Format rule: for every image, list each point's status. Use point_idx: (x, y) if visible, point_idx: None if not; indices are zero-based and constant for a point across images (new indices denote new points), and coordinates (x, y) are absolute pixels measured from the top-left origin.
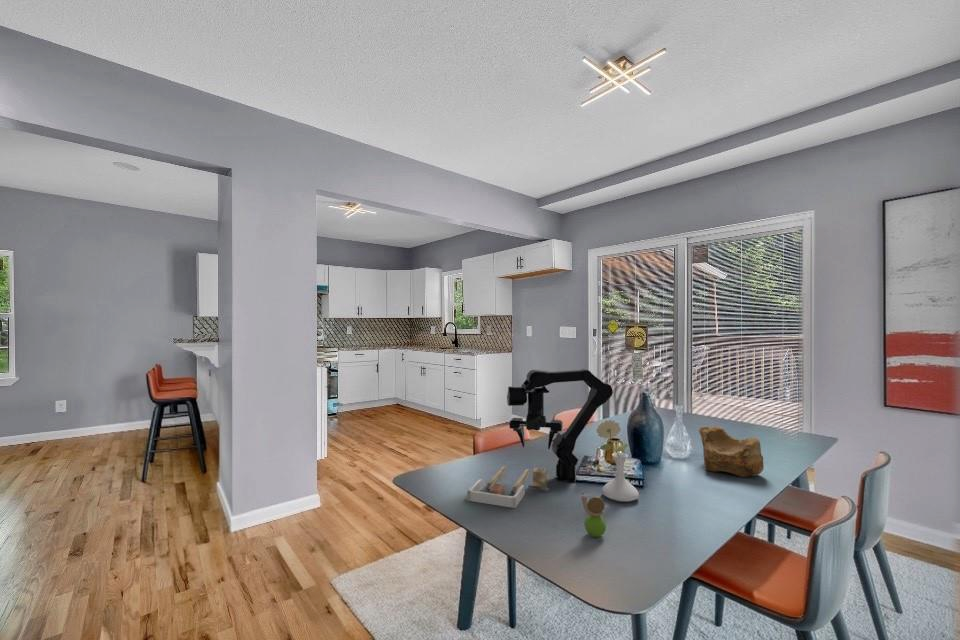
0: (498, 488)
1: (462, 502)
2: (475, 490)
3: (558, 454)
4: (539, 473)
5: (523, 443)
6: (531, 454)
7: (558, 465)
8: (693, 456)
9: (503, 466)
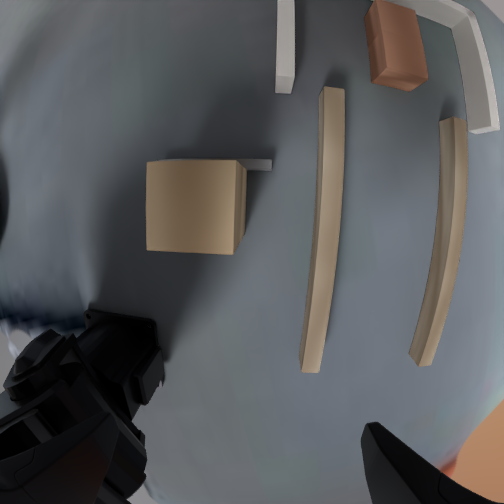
0: (393, 27)
1: None
2: (469, 54)
3: (68, 379)
4: (184, 161)
5: (384, 447)
6: (309, 499)
7: (125, 370)
8: None
9: (428, 362)
